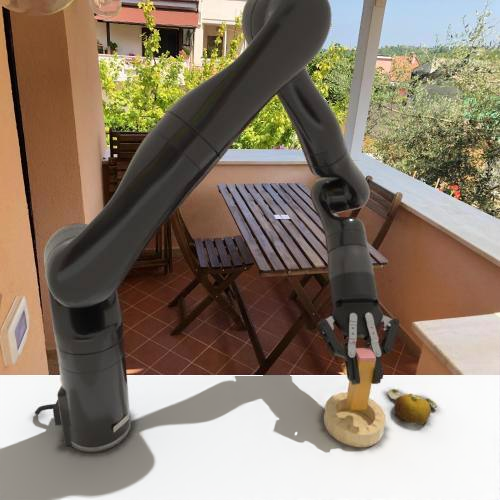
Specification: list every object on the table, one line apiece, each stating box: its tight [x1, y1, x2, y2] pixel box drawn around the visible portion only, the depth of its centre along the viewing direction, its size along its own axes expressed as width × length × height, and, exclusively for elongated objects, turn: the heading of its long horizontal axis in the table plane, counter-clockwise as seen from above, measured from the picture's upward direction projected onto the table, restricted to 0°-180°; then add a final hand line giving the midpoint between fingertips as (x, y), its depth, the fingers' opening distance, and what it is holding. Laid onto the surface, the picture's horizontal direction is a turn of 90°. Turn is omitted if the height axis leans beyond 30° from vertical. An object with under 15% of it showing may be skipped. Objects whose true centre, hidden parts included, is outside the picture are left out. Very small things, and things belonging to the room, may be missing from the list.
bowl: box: [323, 392, 386, 448], centre depth 71 cm, size 10×10×3 cm
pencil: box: [346, 347, 376, 410], centre depth 68 cm, size 3×3×10 cm
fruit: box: [387, 388, 438, 426], centre depth 74 cm, size 8×8×4 cm
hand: (366, 383), depth 65 cm, fingers closed on pencil, 2 cm apart
